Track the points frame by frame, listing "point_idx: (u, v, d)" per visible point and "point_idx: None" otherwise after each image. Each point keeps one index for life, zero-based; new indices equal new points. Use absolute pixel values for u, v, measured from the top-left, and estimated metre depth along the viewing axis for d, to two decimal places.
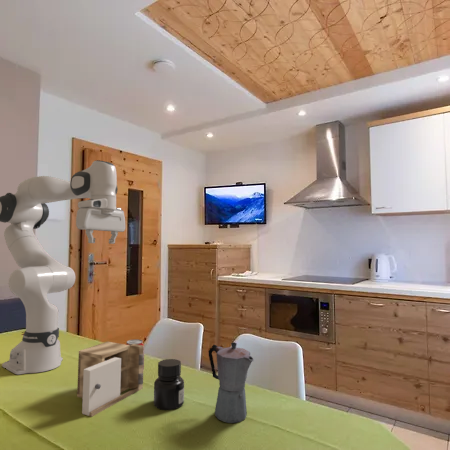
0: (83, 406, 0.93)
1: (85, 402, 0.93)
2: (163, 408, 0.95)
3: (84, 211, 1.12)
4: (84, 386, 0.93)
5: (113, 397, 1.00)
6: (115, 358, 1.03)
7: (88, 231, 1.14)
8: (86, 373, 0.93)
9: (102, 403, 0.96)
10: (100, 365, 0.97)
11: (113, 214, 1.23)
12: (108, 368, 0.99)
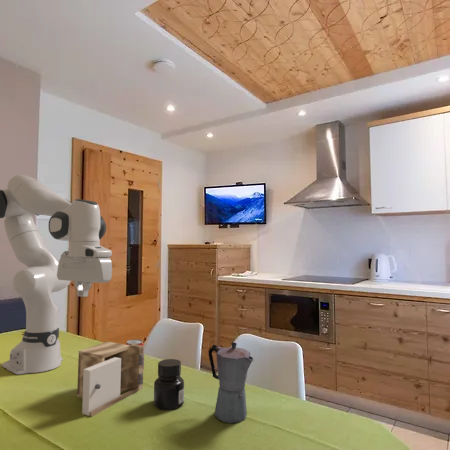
0: (83, 406, 0.93)
1: (85, 402, 0.93)
2: (163, 408, 0.95)
3: (109, 262, 1.00)
4: (84, 386, 0.93)
5: (113, 397, 1.00)
6: (115, 358, 1.03)
7: (89, 283, 1.02)
8: (86, 373, 0.93)
9: (102, 403, 0.96)
10: (100, 365, 0.97)
11: None
12: (108, 368, 0.99)
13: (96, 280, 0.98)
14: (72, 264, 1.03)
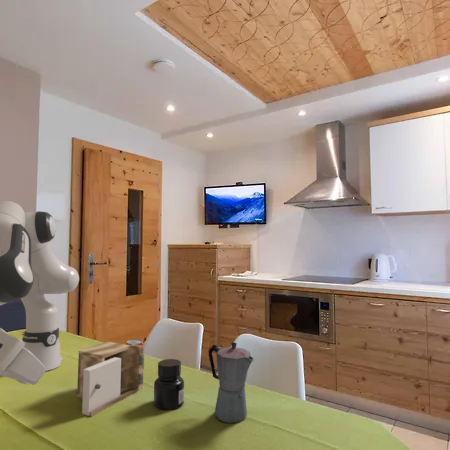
0: (83, 406, 0.93)
1: (85, 402, 0.93)
2: (163, 408, 0.95)
3: (27, 357, 0.68)
4: (84, 386, 0.93)
5: (113, 397, 1.00)
6: (115, 358, 1.03)
7: None
8: (86, 373, 0.93)
9: (102, 403, 0.96)
10: (100, 365, 0.97)
11: None
12: (108, 368, 0.99)
13: (27, 382, 0.70)
14: None
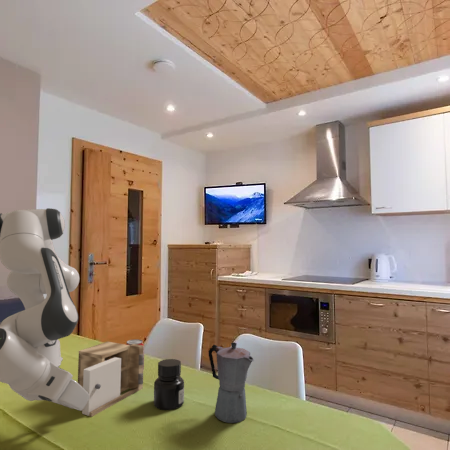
0: None
1: None
2: (163, 408, 0.95)
3: (75, 387, 0.79)
4: (84, 386, 0.93)
5: (113, 397, 1.00)
6: (115, 358, 1.03)
7: None
8: (86, 373, 0.93)
9: (102, 403, 0.96)
10: (100, 365, 0.97)
11: None
12: (108, 368, 0.99)
13: (74, 408, 0.81)
14: None
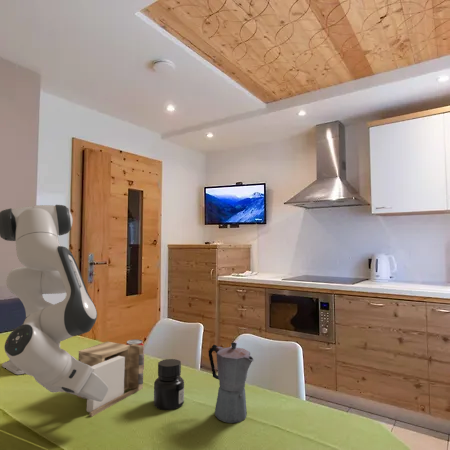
0: (88, 404, 0.94)
1: (90, 400, 0.94)
2: (163, 408, 0.95)
3: (95, 380, 0.84)
4: None
5: (117, 395, 1.01)
6: (119, 357, 1.05)
7: None
8: None
9: (106, 401, 0.98)
10: (104, 363, 0.98)
11: None
12: (112, 366, 1.00)
13: None
14: None
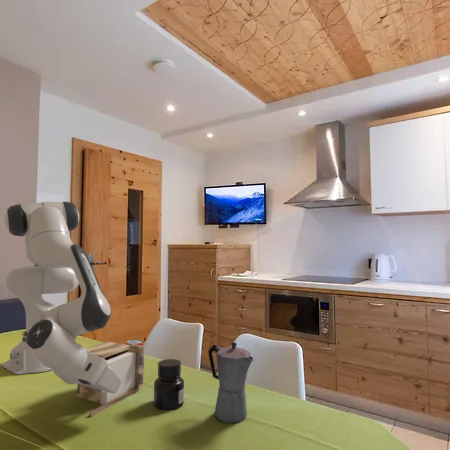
0: (101, 397, 0.99)
1: (103, 393, 0.98)
2: (163, 408, 0.95)
3: (110, 373, 0.89)
4: None
5: (128, 389, 1.06)
6: (130, 352, 1.09)
7: None
8: None
9: (119, 394, 1.02)
10: (117, 358, 1.03)
11: None
12: (124, 361, 1.04)
13: None
14: None
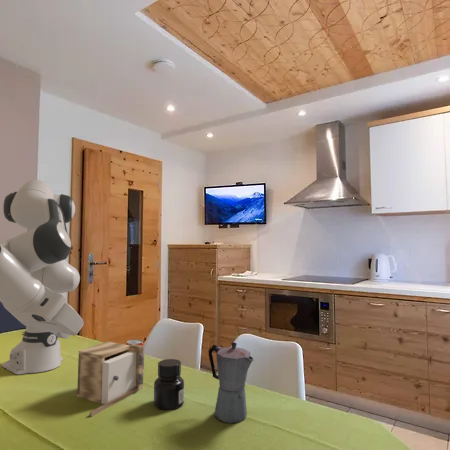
0: (102, 396, 0.99)
1: (104, 393, 0.99)
2: (163, 408, 0.95)
3: (69, 311, 0.78)
4: (103, 378, 0.99)
5: (129, 388, 1.06)
6: (131, 352, 1.09)
7: None
8: (105, 365, 0.99)
9: (119, 394, 1.02)
10: (117, 358, 1.03)
11: None
12: (125, 361, 1.05)
13: (68, 334, 0.80)
14: None
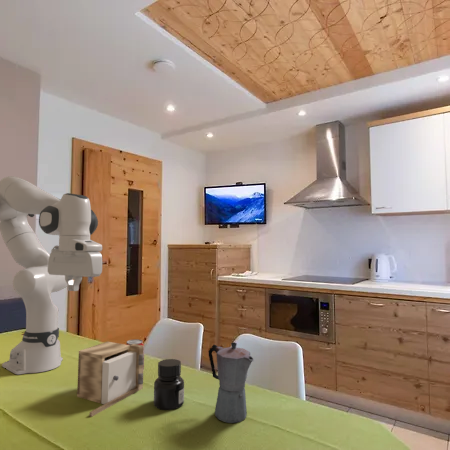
0: (102, 396, 0.99)
1: (104, 393, 0.99)
2: (163, 408, 0.95)
3: (99, 256, 1.00)
4: (103, 378, 0.99)
5: (129, 388, 1.06)
6: (131, 352, 1.09)
7: (80, 278, 1.02)
8: (105, 365, 0.99)
9: (119, 394, 1.02)
10: (117, 358, 1.03)
11: None
12: (125, 361, 1.05)
13: (86, 274, 0.98)
14: (63, 258, 1.03)
